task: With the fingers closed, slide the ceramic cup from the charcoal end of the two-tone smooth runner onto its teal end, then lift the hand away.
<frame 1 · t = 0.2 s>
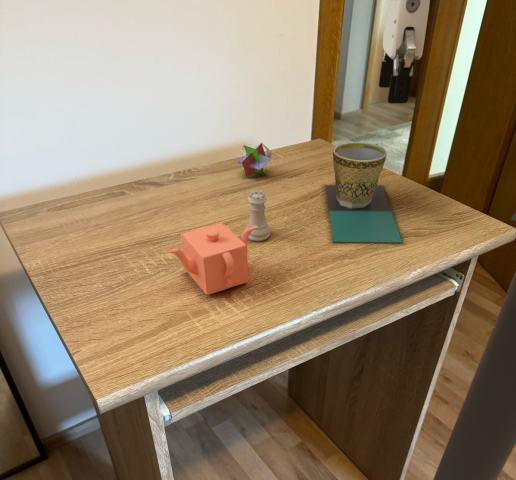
hand: (392, 94, 83), 20 cm above the table, tool pointing down, fingers open, 9 cm apart
geometric puzzle: (254, 175, 109), on the table
teapot: (216, 279, 78), on the table
runner: (360, 211, 95), on the table
rook chess piece: (257, 237, 88), on the table
ceramic cup: (357, 199, 99), resting on runner
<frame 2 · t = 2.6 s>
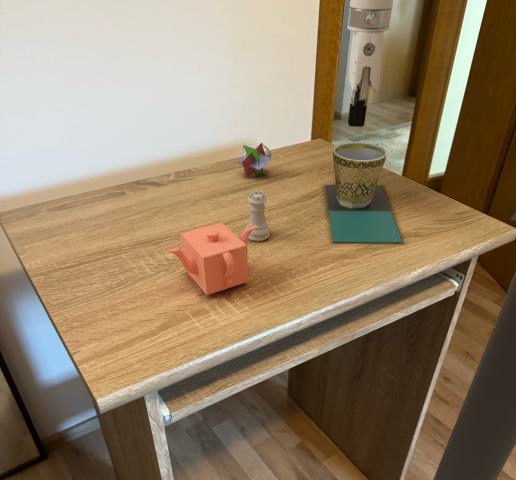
hand: (355, 125, 100), 11 cm above the table, tool pointing down, fingers closed
nothing on the table moved.
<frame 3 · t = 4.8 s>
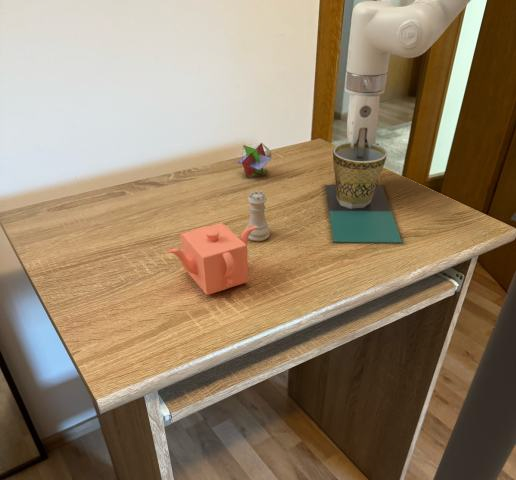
hand: (353, 177, 103), 2 cm above the table, tool pointing down, fingers closed
ceramic cup: (357, 199, 99), resting on runner, touching gripper
everything else where it was.
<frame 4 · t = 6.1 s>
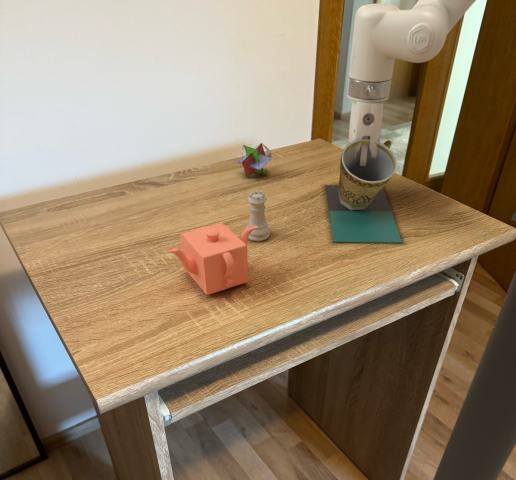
hand: (355, 186, 99), 2 cm above the table, tool pointing down, fingers closed
ceramic cup: (358, 193, 96), point 2 cm above the table, touching gripper, runner
everything else where it was.
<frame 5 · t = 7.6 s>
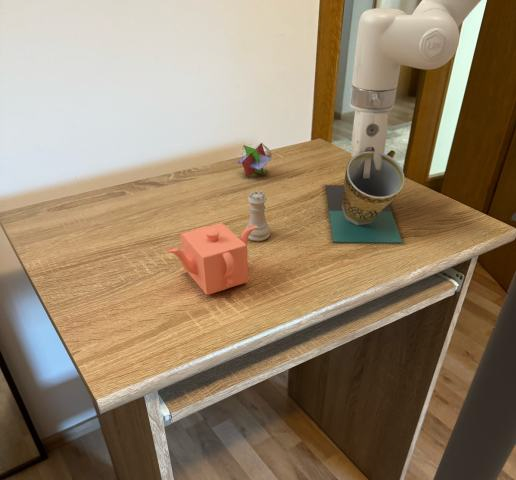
hand: (358, 199, 95), 2 cm above the table, tool pointing down, fingers closed
ceramic cup: (362, 206, 92), point 2 cm above the table, touching gripper
everything else where it was.
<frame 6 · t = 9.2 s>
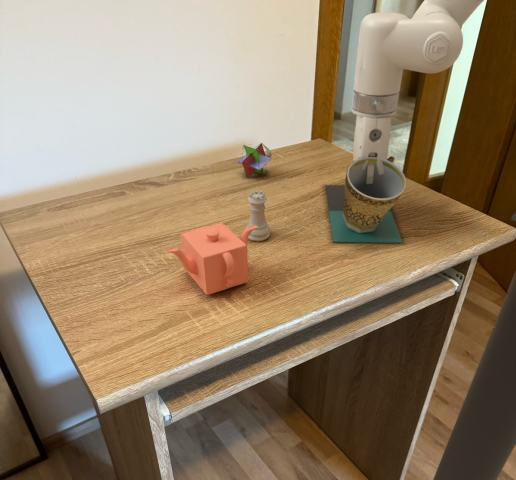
hand: (361, 204, 94), 2 cm above the table, tool pointing down, fingers closed
ceramic cup: (364, 215, 90), point 2 cm above the table, touching runner
everything else where it was.
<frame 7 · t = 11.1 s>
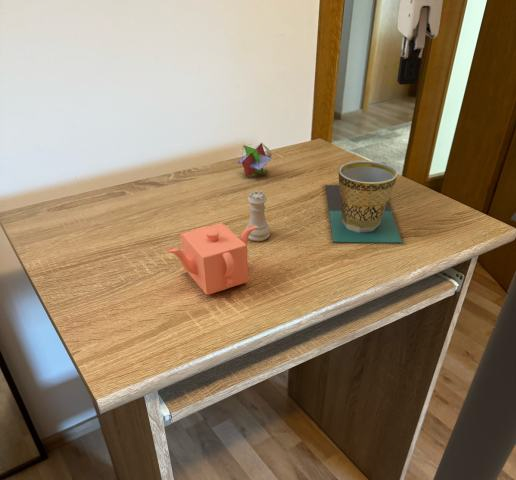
hand: (406, 82, 85), 21 cm above the table, tool pointing down, fingers closed
ceramic cup: (364, 221, 91), resting on runner
everything else where it was.
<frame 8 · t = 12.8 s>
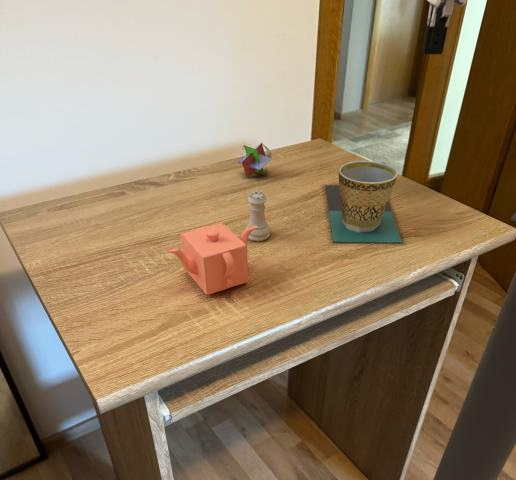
hand: (431, 53, 85), 25 cm above the table, tool pointing down, fingers closed
nothing on the table moved.
at the end: ceramic cup inside the target area (2.6 cm from its centre), resting on runner; ceramic cup tilted 0°; ceramic cup moved 9.7 cm from its start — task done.
